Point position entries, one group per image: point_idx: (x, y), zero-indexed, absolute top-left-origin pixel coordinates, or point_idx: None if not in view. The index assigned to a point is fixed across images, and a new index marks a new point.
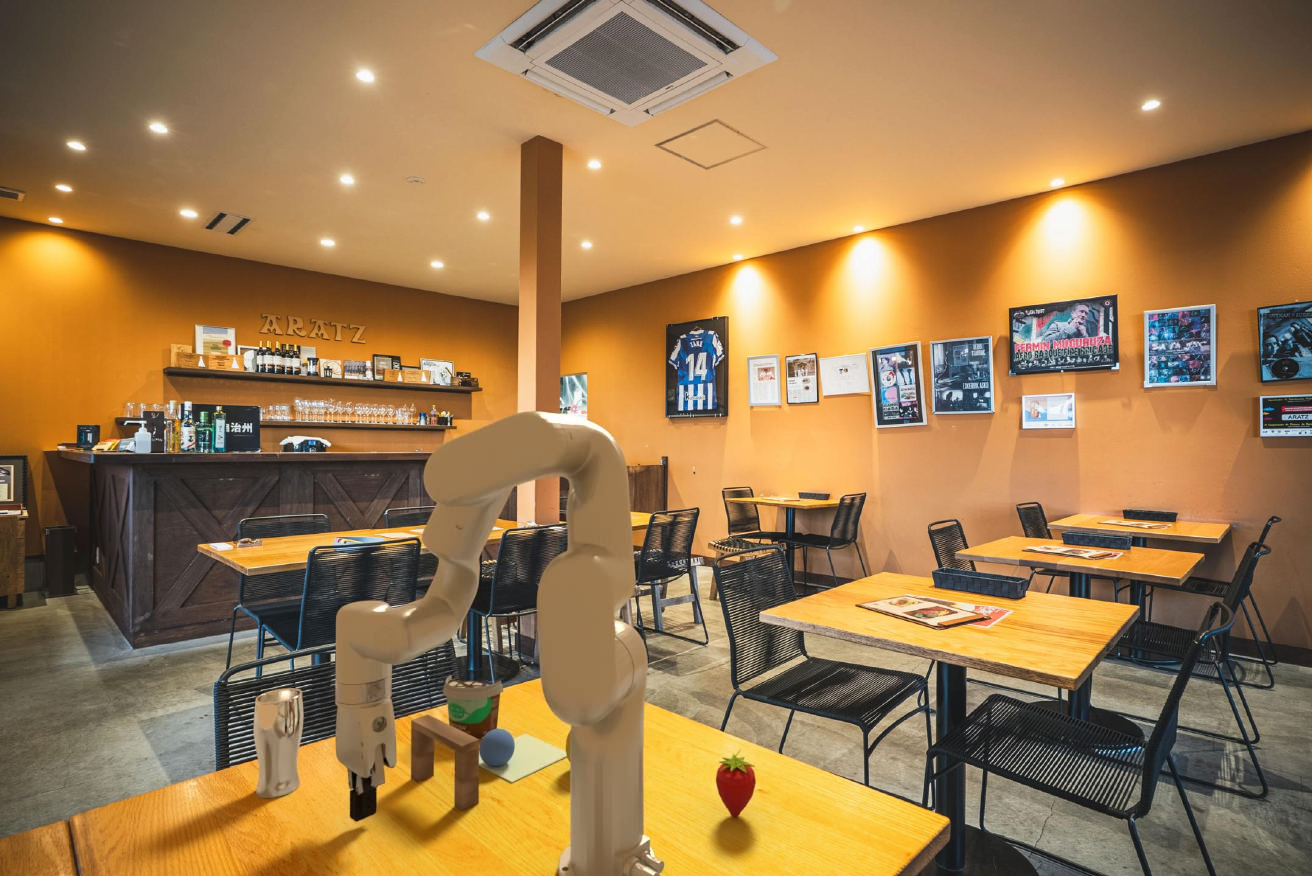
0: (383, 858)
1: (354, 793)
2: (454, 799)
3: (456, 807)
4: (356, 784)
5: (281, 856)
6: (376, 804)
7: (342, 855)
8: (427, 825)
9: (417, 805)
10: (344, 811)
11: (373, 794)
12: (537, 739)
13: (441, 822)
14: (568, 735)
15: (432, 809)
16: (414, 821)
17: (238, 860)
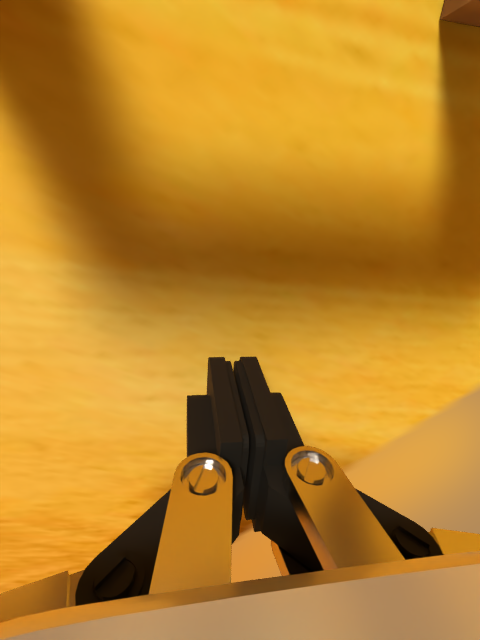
0: (424, 395)
1: (260, 527)
2: (467, 2)
3: (457, 22)
4: (283, 575)
5: None
6: (261, 372)
7: None
8: (427, 218)
9: (267, 143)
10: (59, 372)
11: (299, 438)
12: None
13: (465, 167)
14: None
15: (358, 119)
16: (361, 234)
17: None
